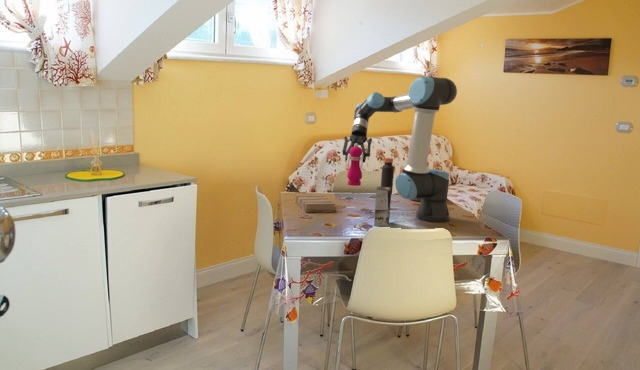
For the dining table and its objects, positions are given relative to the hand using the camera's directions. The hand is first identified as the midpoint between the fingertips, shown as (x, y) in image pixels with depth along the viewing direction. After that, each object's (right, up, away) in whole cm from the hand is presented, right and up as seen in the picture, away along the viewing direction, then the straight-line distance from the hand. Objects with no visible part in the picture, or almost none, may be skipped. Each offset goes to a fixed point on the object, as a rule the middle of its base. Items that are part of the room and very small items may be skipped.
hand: (354, 166), depth 248 cm
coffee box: (+11, -26, -16) cm, 32 cm away
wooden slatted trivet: (-19, -20, +10) cm, 29 cm away
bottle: (+22, -13, +56) cm, 62 cm away
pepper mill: (0, -9, +5) cm, 10 cm away
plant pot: (+38, -17, +41) cm, 59 cm away
